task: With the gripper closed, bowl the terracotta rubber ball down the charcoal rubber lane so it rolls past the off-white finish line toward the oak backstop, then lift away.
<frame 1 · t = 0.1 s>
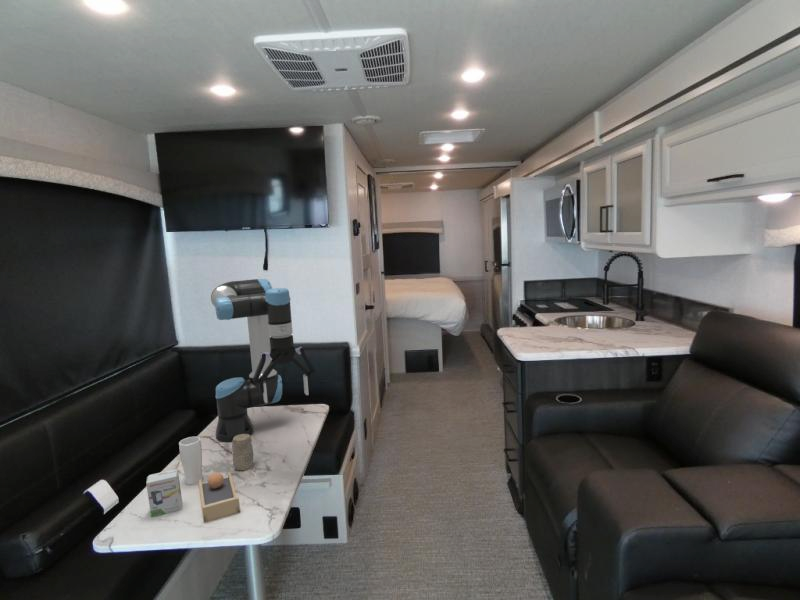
hand: (286, 398, 157), 28 cm above the table, fingers open, 13 cm apart
ball: (216, 487, 155), point 1 cm above the table, touching lane
drinking glass: (194, 482, 160), on the table
lane: (218, 499, 148), on the table
carving: (244, 468, 168), on the table
ink box: (167, 512, 143), on the table
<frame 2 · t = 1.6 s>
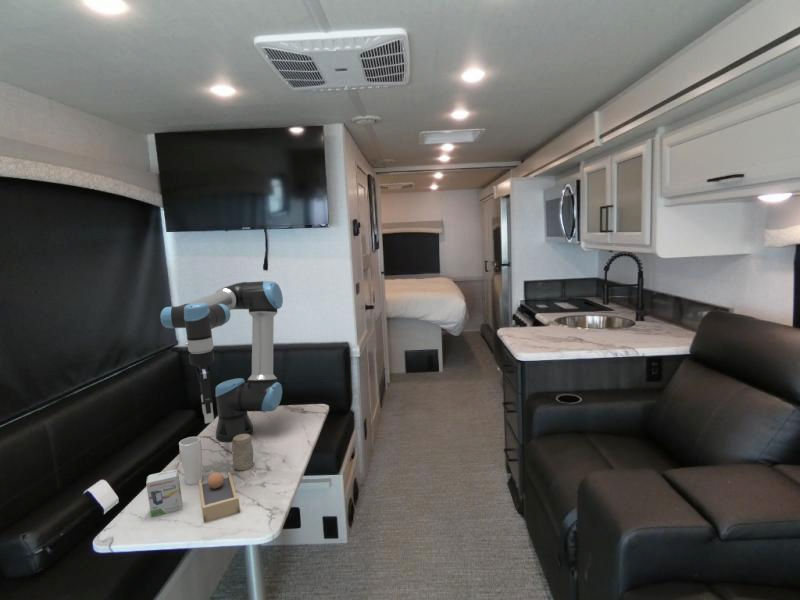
hand: (208, 417, 155), 23 cm above the table, fingers open, 9 cm apart
nothing on the table moved.
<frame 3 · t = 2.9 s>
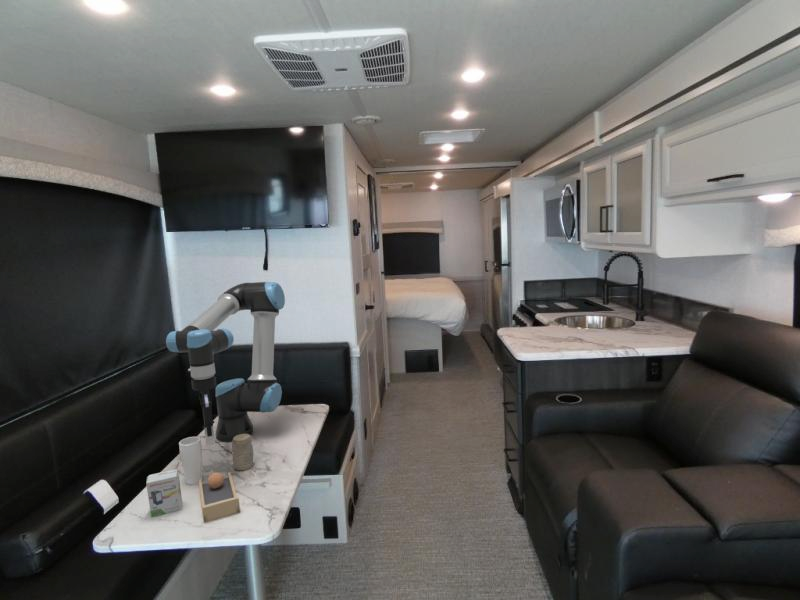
hand: (210, 443, 159), 13 cm above the table, fingers closed
nothing on the table moved.
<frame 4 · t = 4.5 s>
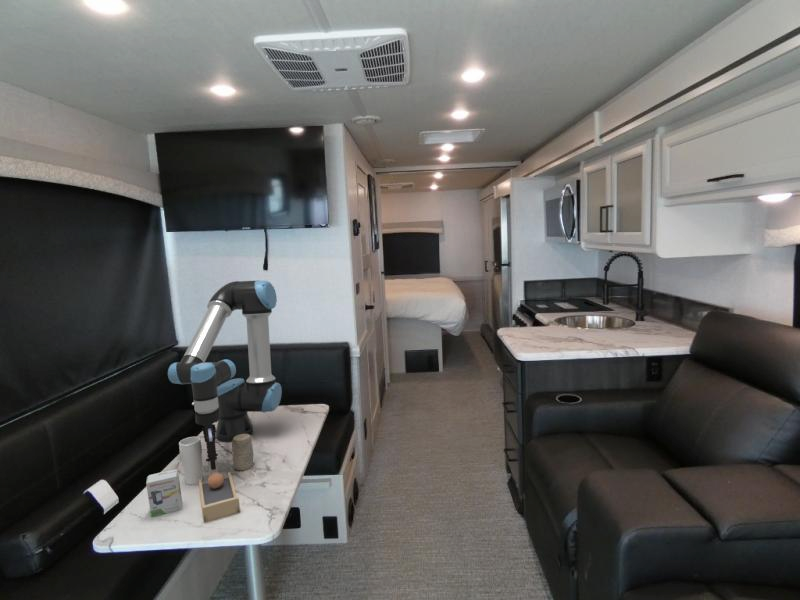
hand: (214, 476, 159), 2 cm above the table, fingers closed
nothing on the table moved.
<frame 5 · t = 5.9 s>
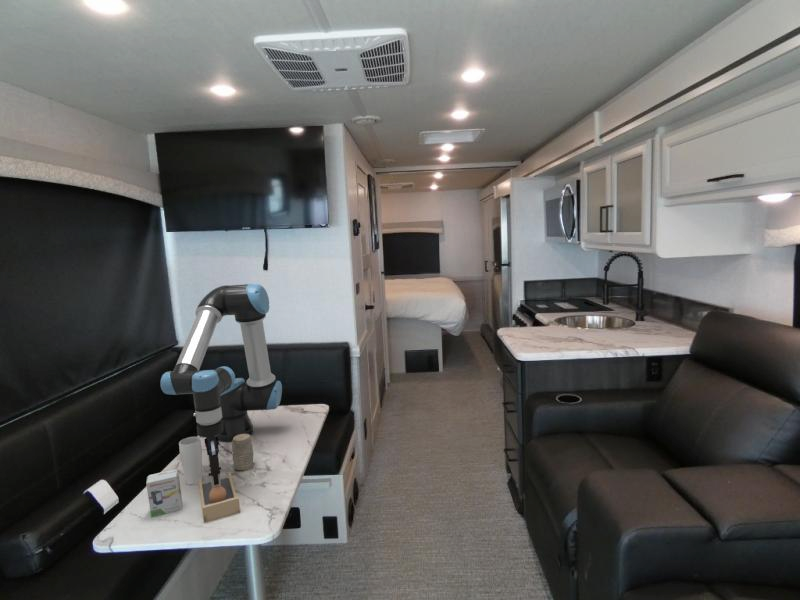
hand: (217, 492, 148), 2 cm above the table, fingers closed
ball: (217, 491, 144), point 5 cm above the table, tilted 137°, touching lane
everything else where it was.
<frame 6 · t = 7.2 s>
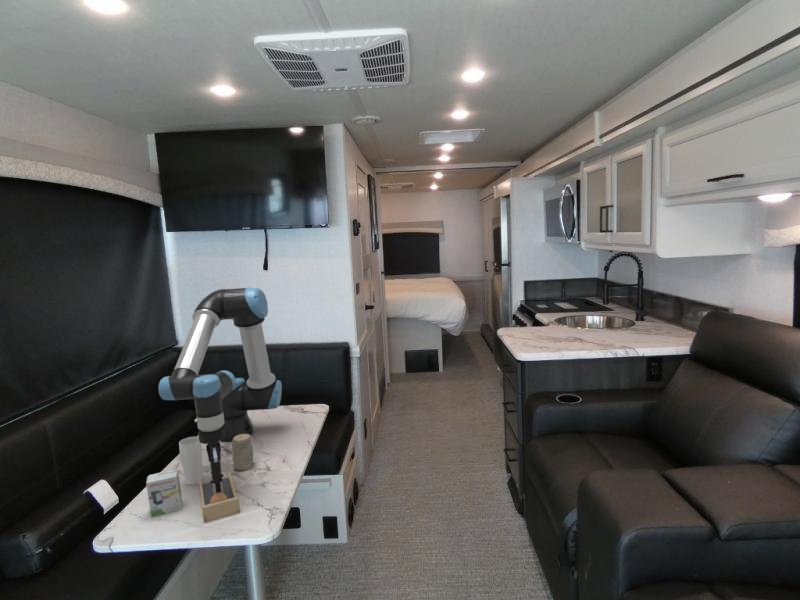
hand: (219, 499, 145), 2 cm above the table, fingers closed
ball: (220, 510, 140), point 1 cm above the table, tilted 35°, touching gripper, lane
everything else where it was.
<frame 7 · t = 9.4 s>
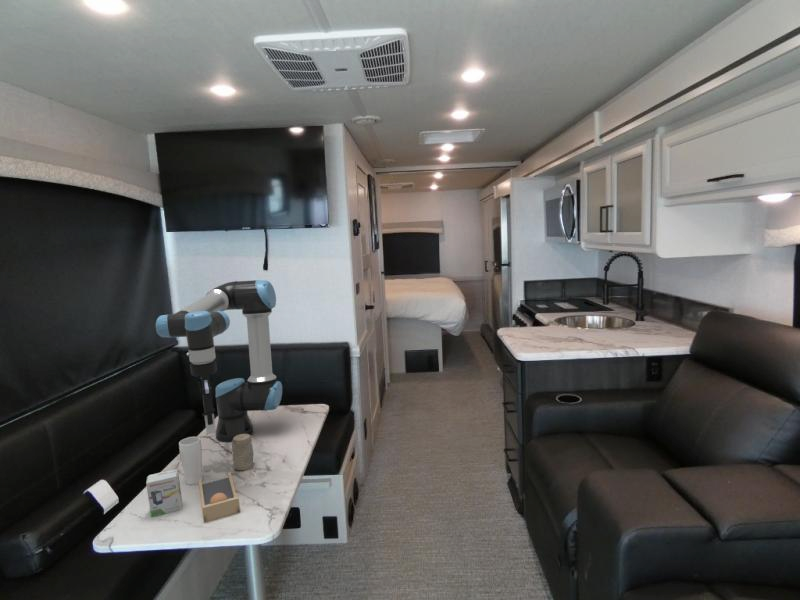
hand: (211, 432, 150), 21 cm above the table, fingers closed
ball: (220, 510, 140), point 1 cm above the table, tilted 33°, touching lane
everything else where it was.
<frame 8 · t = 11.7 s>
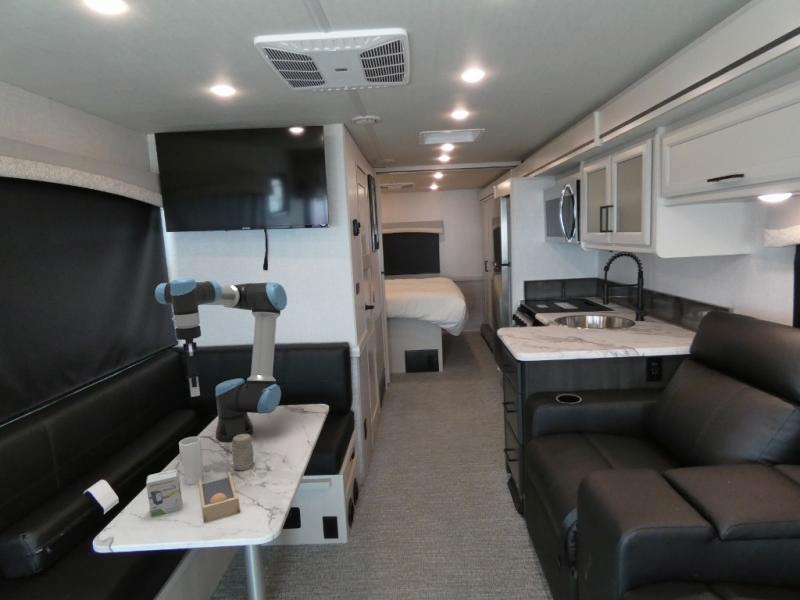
hand: (195, 395, 156), 30 cm above the table, fingers closed
nothing on the table moved.
at the end: ball inside the target area on the lane (1.0 cm from its centre), point 1.0 cm above the lane's base; the gripper is holding nothing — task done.
